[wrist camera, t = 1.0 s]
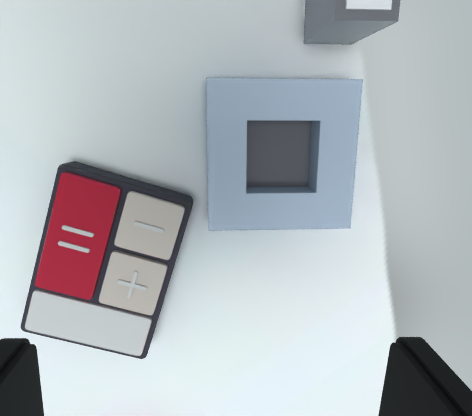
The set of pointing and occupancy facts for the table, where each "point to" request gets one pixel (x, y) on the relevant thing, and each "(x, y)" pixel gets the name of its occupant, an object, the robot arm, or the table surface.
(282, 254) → the table surface
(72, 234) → the calculator
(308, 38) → the block
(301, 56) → the table surface
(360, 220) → the table surface
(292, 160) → the outlet plate
